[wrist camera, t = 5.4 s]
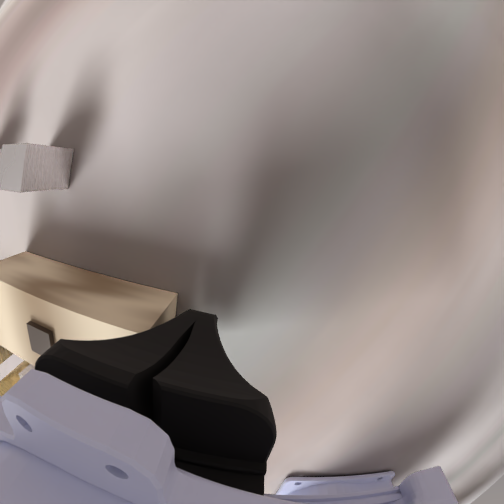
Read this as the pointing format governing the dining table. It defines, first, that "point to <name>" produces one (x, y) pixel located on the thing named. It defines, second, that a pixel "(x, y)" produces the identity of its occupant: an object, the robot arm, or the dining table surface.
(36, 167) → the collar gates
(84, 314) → the bar
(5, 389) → the gold capsule
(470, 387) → the dining table surface
